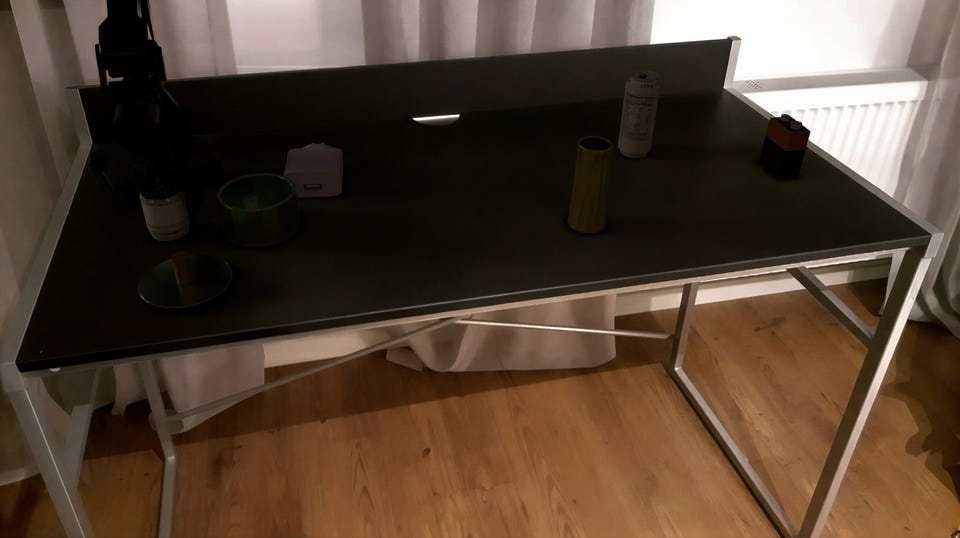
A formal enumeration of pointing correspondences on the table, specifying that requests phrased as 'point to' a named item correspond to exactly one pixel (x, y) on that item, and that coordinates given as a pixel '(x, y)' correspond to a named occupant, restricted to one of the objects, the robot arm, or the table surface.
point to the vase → (590, 185)
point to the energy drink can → (639, 113)
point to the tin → (259, 210)
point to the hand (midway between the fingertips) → (167, 215)
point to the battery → (784, 146)
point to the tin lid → (185, 281)
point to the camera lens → (165, 210)
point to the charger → (315, 170)
